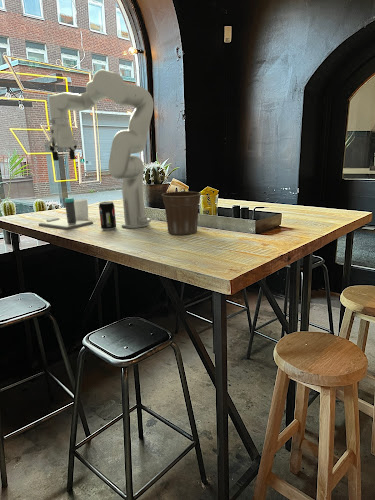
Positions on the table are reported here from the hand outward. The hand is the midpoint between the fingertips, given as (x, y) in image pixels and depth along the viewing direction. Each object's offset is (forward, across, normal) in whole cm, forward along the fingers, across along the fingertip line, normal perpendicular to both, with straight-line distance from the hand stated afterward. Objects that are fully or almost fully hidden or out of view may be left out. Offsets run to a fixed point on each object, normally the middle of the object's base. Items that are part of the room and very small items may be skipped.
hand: (64, 159), depth 180 cm
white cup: (+31, +6, 0) cm, 31 cm away
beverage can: (+31, -5, -32) cm, 44 cm away
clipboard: (+30, -7, -4) cm, 31 cm away
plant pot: (+30, +5, -66) cm, 73 cm away
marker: (+29, -9, -12) cm, 33 cm away
